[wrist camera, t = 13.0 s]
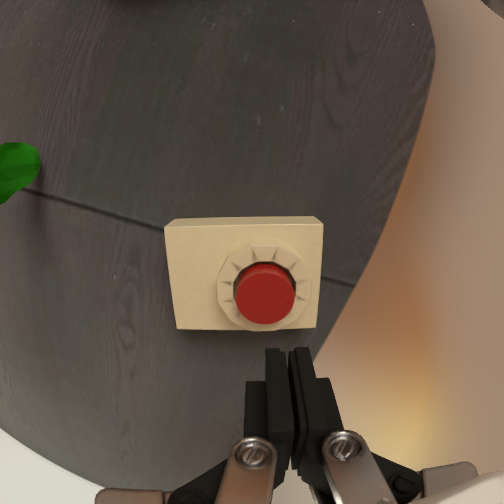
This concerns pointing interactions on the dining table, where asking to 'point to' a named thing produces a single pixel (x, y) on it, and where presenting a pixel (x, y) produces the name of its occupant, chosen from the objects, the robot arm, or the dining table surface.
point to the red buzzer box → (241, 267)
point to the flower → (17, 168)
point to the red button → (264, 294)
